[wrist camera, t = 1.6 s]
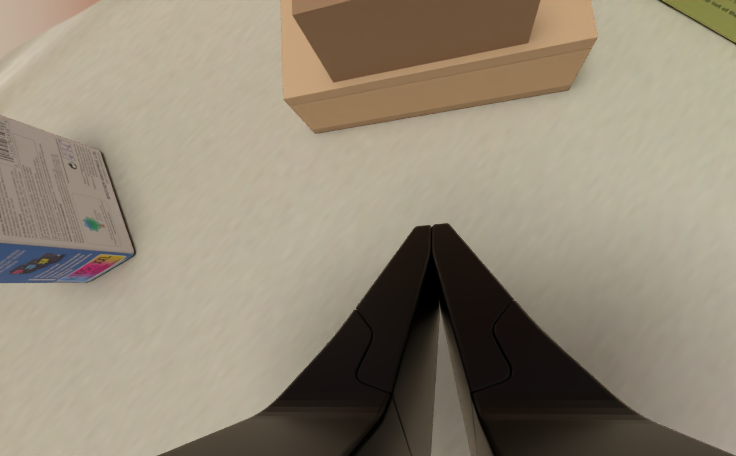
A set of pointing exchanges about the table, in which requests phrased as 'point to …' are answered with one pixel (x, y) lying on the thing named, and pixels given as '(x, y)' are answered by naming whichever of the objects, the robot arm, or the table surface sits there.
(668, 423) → the table surface
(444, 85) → the carton
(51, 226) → the ink cartridge box
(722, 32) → the protein box
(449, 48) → the lid flap
